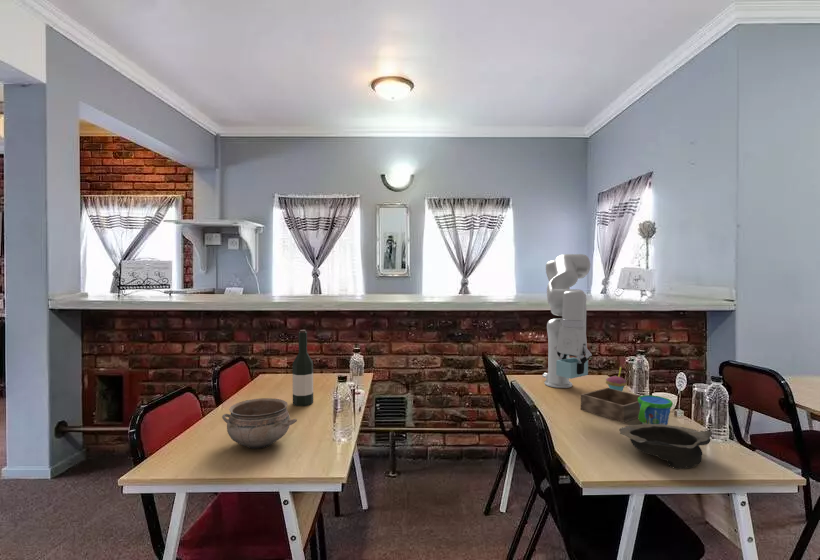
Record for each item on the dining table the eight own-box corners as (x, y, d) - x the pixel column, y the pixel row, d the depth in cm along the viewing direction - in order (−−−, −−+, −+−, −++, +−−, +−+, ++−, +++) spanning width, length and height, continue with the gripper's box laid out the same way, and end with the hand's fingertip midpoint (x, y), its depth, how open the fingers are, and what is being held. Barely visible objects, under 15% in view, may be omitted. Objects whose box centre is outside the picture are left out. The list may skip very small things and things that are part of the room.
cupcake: (622, 389, 210) (623, 363, 209) (629, 395, 201) (630, 367, 201) (603, 389, 211) (603, 363, 210) (609, 394, 202) (609, 367, 202)
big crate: (580, 409, 181) (580, 394, 181) (607, 402, 191) (608, 387, 191) (623, 422, 166) (623, 406, 166) (650, 413, 176) (650, 398, 176)
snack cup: (652, 436, 152) (653, 406, 152) (625, 426, 162) (626, 398, 162) (683, 429, 159) (683, 400, 159) (655, 420, 169) (656, 392, 168)
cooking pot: (308, 436, 151) (308, 400, 151) (282, 460, 133) (281, 419, 132) (239, 431, 156) (239, 395, 156) (204, 453, 137) (204, 413, 137)
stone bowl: (716, 482, 120) (714, 447, 120) (614, 467, 133) (612, 435, 133) (713, 449, 141) (711, 419, 141) (625, 438, 154) (623, 411, 154)
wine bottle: (288, 404, 185) (287, 331, 184) (300, 399, 193) (300, 328, 192) (305, 407, 182) (305, 332, 181) (317, 401, 190) (317, 329, 189)
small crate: (556, 375, 171) (556, 360, 171) (573, 371, 177) (573, 357, 176) (570, 378, 166) (570, 363, 165) (587, 374, 171) (588, 360, 171)
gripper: (547, 322, 175) (546, 368, 176) (587, 327, 161) (586, 378, 162) (560, 320, 180) (559, 366, 180) (599, 326, 165) (598, 375, 166)
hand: (572, 371), depth 171 cm, fingers closed on small crate, 6 cm apart
